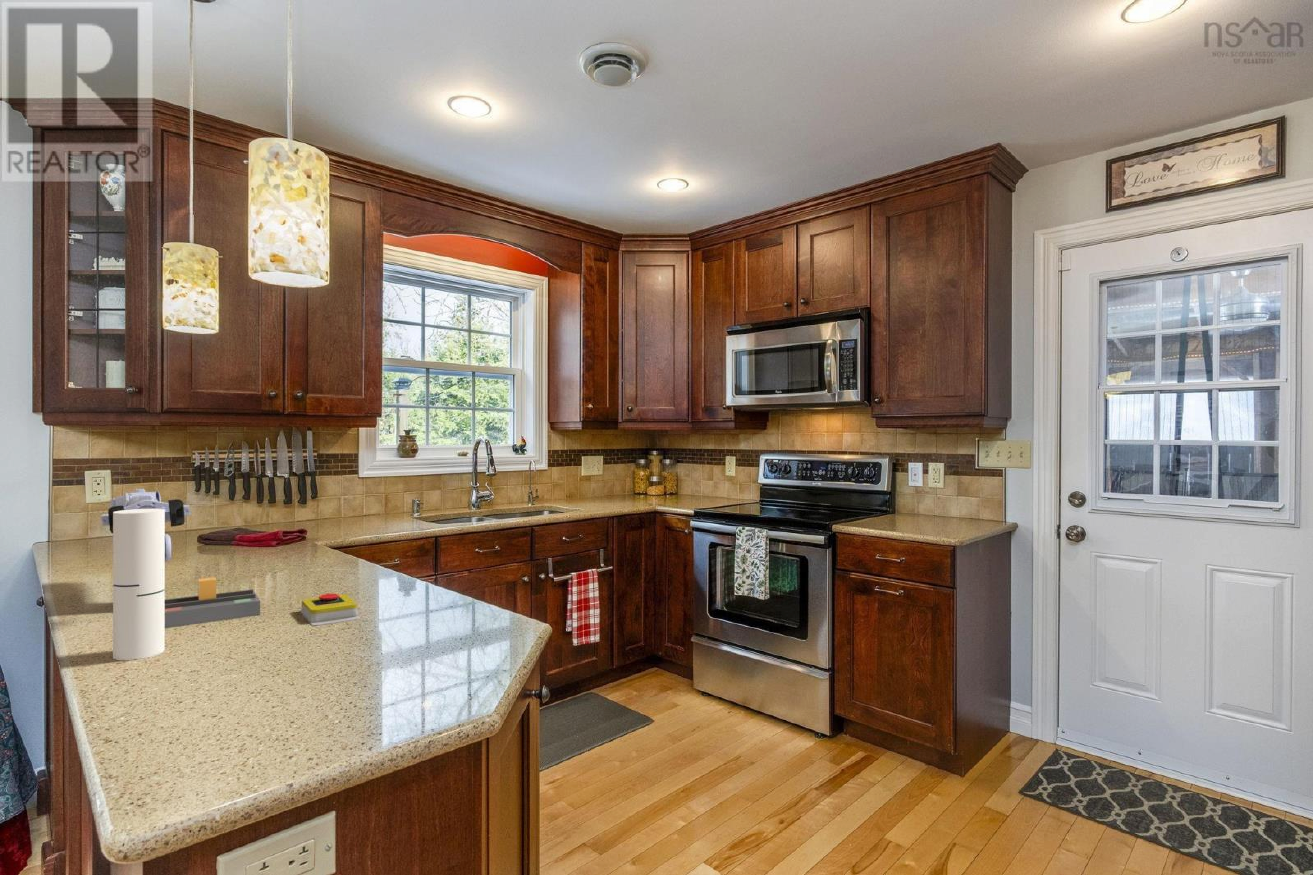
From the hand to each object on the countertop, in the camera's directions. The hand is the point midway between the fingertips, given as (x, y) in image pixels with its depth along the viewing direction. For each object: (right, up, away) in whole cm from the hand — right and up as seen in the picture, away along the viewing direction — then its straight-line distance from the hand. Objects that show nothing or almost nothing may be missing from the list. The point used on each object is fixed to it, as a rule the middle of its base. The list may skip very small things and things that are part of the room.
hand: (150, 521), depth 132 cm
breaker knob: (+5, -18, +9) cm, 21 cm away
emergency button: (+31, -22, +10) cm, 39 cm away
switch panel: (+5, -21, +9) cm, 23 cm away
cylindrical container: (+10, -21, -15) cm, 28 cm away
